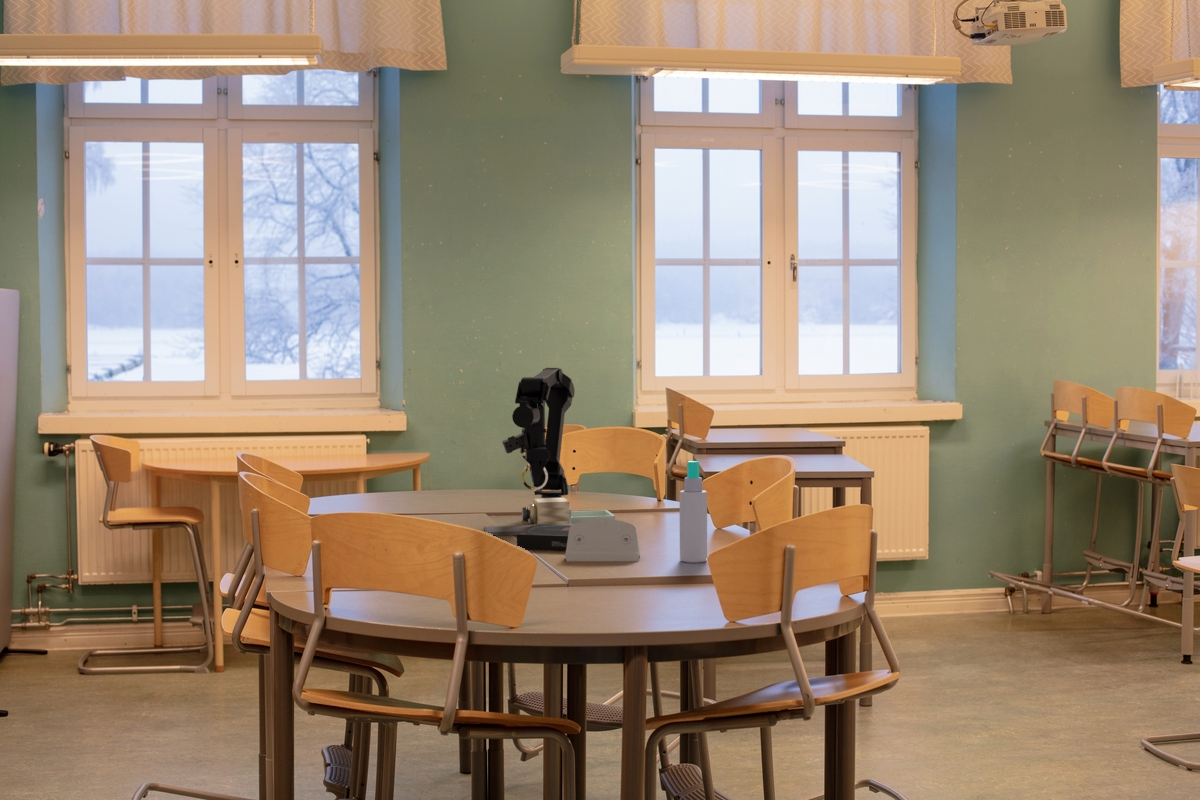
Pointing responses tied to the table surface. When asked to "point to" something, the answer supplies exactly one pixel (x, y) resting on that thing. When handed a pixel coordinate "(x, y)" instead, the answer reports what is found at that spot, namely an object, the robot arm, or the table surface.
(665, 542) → the table surface
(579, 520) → the tray
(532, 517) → the shaft
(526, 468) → the ring
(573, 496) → the table surface
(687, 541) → the spray bottle
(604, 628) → the table surface
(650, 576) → the table surface
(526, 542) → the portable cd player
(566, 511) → the block
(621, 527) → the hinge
